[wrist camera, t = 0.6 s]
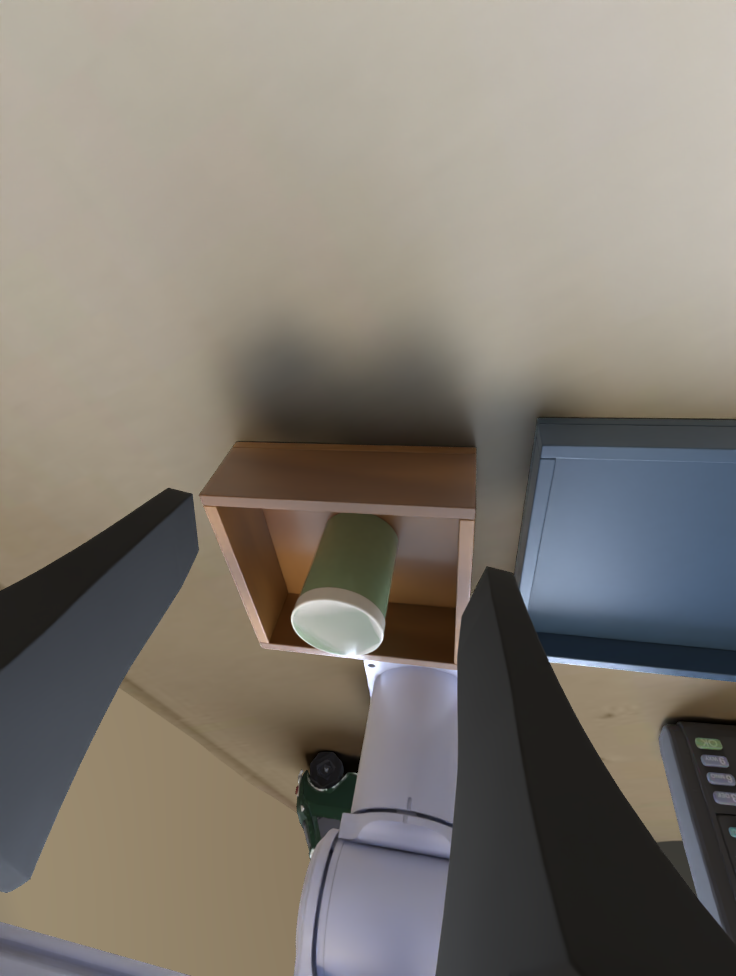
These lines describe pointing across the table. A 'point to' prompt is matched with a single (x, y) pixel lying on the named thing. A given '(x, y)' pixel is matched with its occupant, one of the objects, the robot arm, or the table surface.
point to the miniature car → (323, 797)
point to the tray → (632, 544)
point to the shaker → (348, 586)
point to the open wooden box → (350, 489)
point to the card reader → (706, 809)
